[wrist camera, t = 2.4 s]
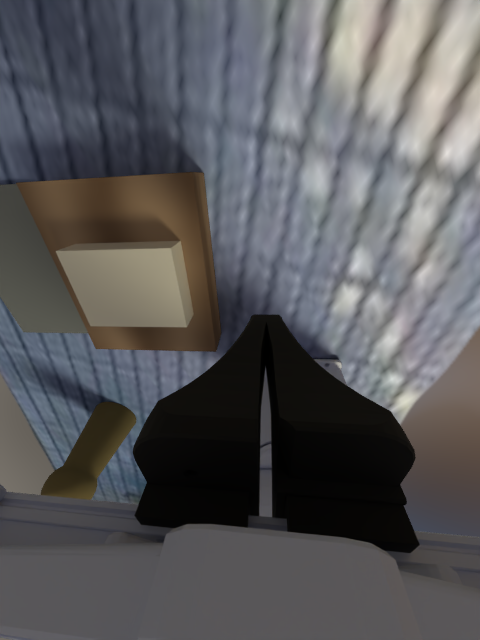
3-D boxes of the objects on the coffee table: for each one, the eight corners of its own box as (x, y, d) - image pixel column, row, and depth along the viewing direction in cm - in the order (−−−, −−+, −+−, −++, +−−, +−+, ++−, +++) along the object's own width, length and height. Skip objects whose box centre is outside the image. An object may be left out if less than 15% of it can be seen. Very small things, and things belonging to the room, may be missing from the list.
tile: (180, 240, 16) (170, 248, 14) (193, 314, 19) (186, 327, 18) (76, 243, 17) (55, 251, 15) (105, 313, 20) (90, 326, 18)
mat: (45, 182, 18) (41, 182, 17) (108, 331, 25) (106, 333, 25) (-65, 189, 19) (-71, 189, 18) (26, 330, 26) (23, 332, 26)
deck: (203, 172, 16) (192, 172, 14) (221, 332, 24) (216, 351, 21) (51, 182, 18) (15, 182, 15) (113, 331, 25) (95, 348, 22)
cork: (115, 397, 31) (52, 490, 22) (144, 423, 34) (98, 516, 24) (86, 407, 33) (16, 497, 24) (116, 431, 36) (63, 520, 26)
